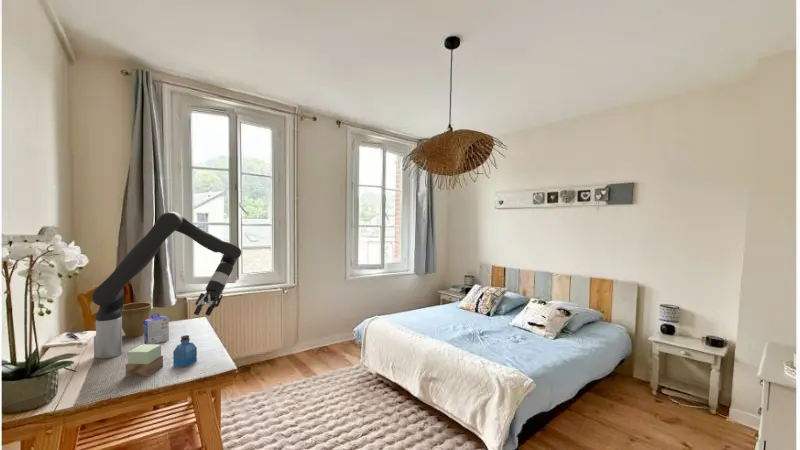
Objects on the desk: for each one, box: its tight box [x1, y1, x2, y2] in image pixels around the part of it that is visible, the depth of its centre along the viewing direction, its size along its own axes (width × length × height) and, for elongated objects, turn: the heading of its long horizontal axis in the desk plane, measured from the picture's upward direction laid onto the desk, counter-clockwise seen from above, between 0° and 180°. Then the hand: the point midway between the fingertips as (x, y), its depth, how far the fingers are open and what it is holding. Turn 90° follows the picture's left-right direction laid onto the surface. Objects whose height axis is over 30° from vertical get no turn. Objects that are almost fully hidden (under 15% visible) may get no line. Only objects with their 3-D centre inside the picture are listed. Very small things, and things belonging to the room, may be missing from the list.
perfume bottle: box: [172, 334, 198, 368], centre depth 153 cm, size 6×6×12 cm
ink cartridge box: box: [143, 312, 170, 344], centre depth 177 cm, size 10×6×14 cm, turn 148°
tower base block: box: [125, 355, 164, 377], centre depth 145 cm, size 9×9×5 cm
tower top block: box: [127, 343, 162, 364], centre depth 145 cm, size 8×8×5 cm
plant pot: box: [122, 302, 152, 338], centre depth 186 cm, size 15×15×16 cm
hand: (201, 314), depth 161 cm, fingers open, 8 cm apart
